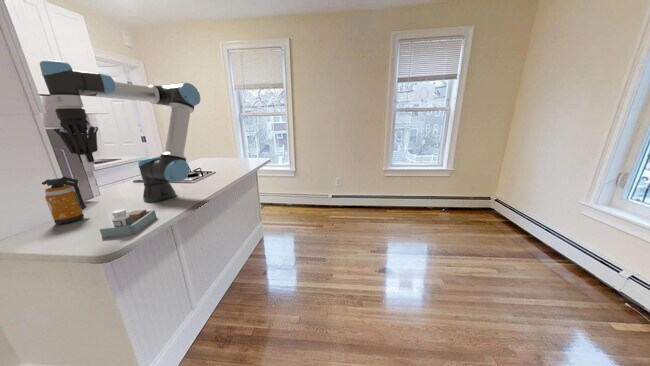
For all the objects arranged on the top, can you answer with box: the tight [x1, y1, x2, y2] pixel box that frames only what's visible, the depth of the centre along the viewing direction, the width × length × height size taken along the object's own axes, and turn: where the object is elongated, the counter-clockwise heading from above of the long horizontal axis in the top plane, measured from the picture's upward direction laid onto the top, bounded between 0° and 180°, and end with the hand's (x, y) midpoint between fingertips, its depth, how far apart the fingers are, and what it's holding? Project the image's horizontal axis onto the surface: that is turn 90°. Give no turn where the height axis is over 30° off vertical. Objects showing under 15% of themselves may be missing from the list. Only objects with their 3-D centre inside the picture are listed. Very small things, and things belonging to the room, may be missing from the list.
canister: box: [41, 176, 88, 225], centre depth 102 cm, size 9×11×20 cm
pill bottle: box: [111, 208, 132, 227], centre depth 90 cm, size 5×5×9 cm
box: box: [99, 209, 157, 239], centre depth 95 cm, size 16×11×4 cm
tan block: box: [127, 209, 147, 224], centre depth 99 cm, size 5×5×5 cm
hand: (90, 170), depth 91 cm, fingers closed
